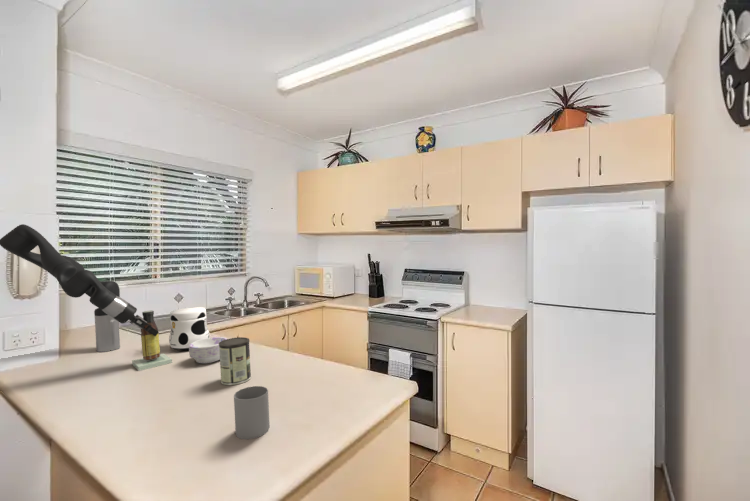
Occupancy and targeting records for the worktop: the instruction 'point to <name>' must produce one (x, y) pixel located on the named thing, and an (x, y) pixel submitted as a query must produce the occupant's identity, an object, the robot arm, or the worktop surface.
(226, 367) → the coffee can
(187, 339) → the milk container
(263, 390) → the cup
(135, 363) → the trivet
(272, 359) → the worktop surface
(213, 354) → the paper bowls
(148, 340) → the sauce bottle
